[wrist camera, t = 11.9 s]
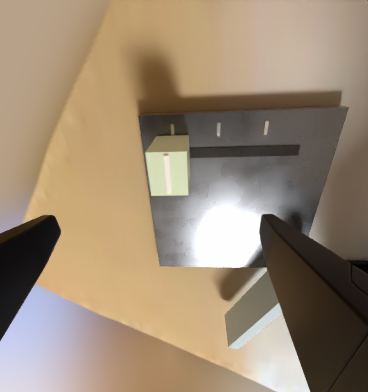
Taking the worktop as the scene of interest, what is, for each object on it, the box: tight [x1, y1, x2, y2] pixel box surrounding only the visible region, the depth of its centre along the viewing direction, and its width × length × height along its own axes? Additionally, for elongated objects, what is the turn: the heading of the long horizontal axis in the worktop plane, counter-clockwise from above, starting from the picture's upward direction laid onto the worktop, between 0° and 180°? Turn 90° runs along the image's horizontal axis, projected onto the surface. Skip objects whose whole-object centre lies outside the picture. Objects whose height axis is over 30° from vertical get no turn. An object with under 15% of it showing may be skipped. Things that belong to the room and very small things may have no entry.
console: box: [138, 106, 349, 267], centre depth 20 cm, size 15×16×1 cm
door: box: [225, 271, 282, 350], centre depth 22 cm, size 14×2×4 cm, turn 156°
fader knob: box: [145, 135, 190, 196], centre depth 15 cm, size 2×3×4 cm
